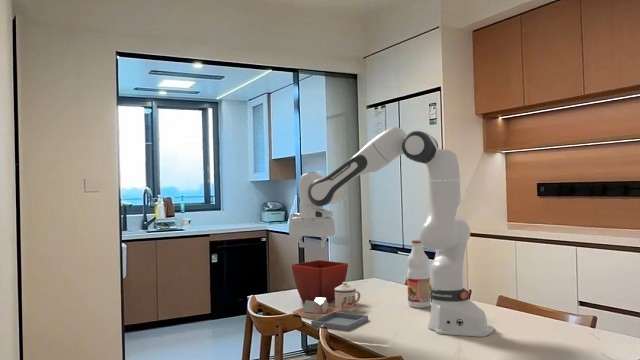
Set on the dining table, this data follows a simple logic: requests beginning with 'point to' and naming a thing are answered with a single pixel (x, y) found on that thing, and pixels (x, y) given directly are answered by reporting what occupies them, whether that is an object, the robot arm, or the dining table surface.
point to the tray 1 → (315, 316)
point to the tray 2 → (340, 320)
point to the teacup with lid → (346, 297)
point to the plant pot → (319, 279)
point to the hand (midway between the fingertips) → (311, 247)
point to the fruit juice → (418, 277)
